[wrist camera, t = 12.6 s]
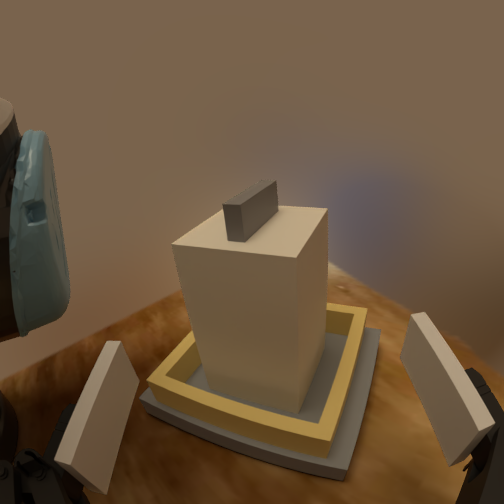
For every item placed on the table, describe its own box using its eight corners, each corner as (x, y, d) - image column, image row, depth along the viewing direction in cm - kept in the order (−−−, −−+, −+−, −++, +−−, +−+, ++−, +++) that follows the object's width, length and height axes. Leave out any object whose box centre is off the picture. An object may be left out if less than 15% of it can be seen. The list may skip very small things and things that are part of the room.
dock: (147, 412, 22) (127, 377, 20) (226, 317, 33) (220, 282, 31) (342, 480, 15) (353, 453, 13) (377, 345, 26) (384, 307, 24)
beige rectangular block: (209, 388, 22) (164, 209, 16) (248, 333, 27) (227, 176, 21) (298, 414, 19) (294, 214, 13) (324, 348, 24) (327, 178, 18)
